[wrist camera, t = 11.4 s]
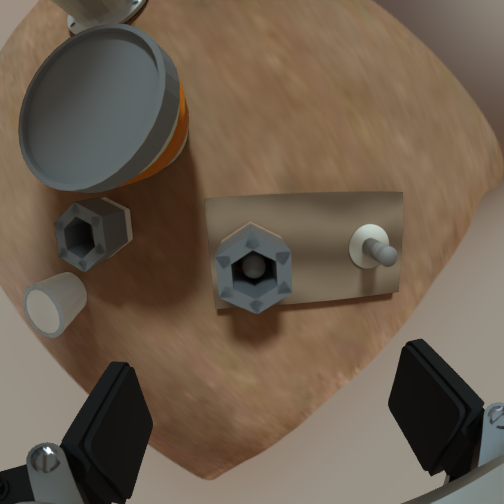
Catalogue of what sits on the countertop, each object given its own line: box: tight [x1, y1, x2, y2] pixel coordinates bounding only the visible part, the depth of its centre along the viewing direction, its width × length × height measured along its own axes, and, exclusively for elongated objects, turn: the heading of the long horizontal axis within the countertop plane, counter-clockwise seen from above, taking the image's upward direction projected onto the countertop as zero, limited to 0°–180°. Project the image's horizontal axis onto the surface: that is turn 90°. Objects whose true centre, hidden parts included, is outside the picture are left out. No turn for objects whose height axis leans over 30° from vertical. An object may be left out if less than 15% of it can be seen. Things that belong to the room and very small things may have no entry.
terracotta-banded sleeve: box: [215, 222, 292, 314], centre depth 26 cm, size 7×6×7 cm
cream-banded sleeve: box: [54, 197, 133, 272], centre depth 27 cm, size 7×6×7 cm
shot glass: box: [23, 272, 87, 338], centre depth 29 cm, size 7×7×7 cm
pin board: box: [205, 192, 403, 309], centre depth 28 cm, size 12×22×6 cm, turn 94°
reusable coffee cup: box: [18, 23, 189, 193], centre depth 21 cm, size 13×12×15 cm
